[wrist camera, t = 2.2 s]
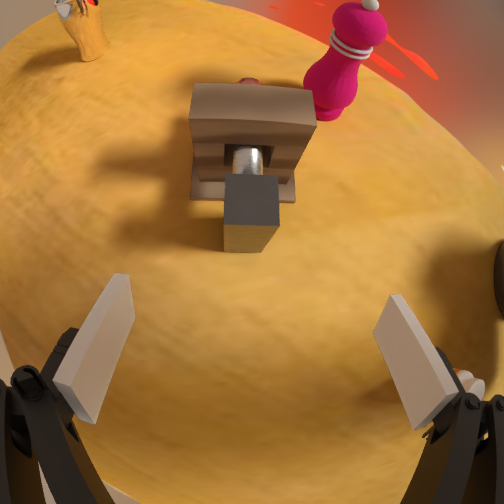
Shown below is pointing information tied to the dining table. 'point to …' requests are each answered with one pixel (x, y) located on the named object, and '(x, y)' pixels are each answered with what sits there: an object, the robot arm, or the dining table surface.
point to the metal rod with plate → (249, 199)
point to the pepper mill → (344, 57)
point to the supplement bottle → (471, 383)
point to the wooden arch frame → (248, 133)
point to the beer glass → (84, 26)
